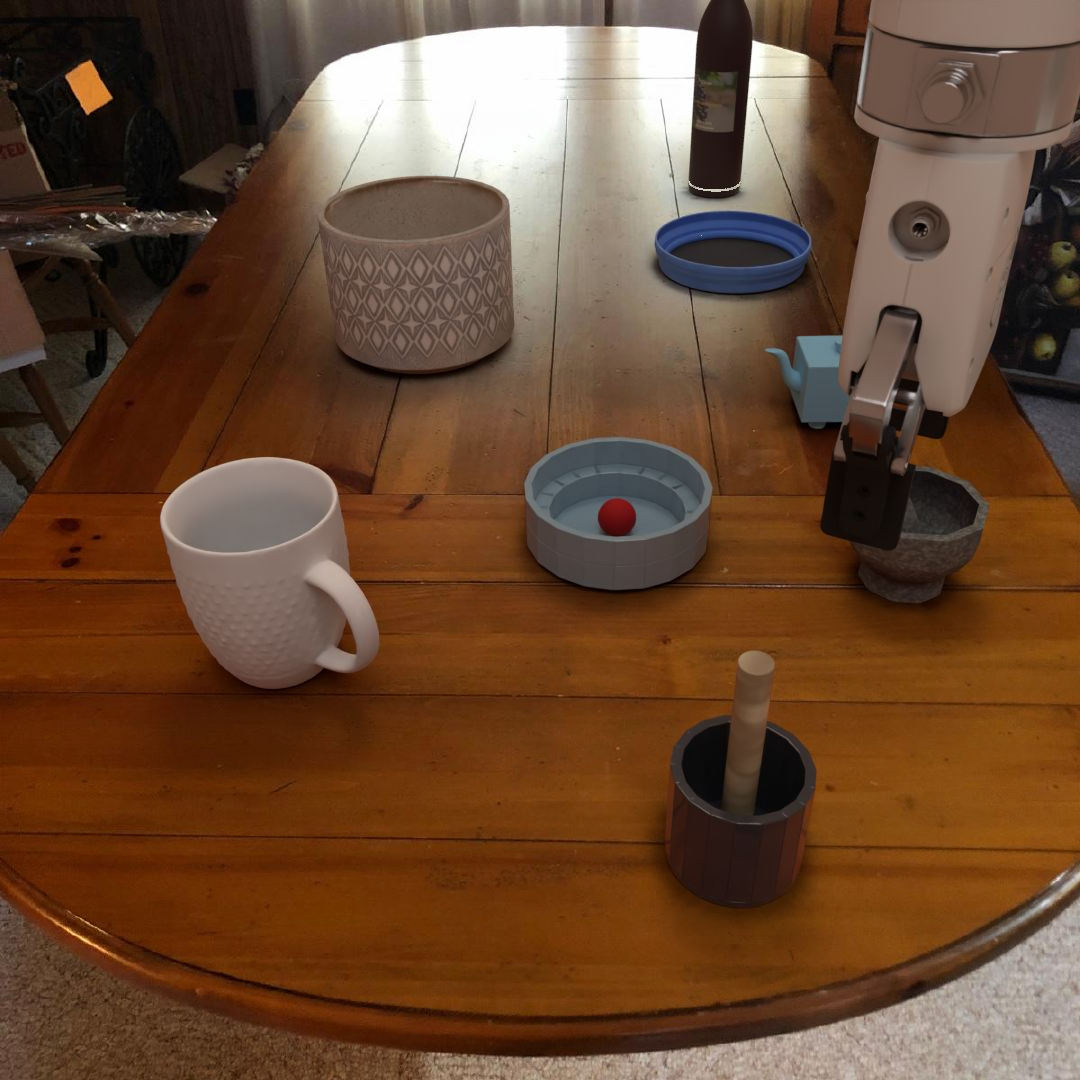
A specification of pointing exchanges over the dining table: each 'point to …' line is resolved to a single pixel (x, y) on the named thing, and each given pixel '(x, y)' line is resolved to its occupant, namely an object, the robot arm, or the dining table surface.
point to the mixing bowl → (627, 473)
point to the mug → (268, 571)
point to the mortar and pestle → (927, 539)
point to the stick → (747, 731)
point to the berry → (617, 517)
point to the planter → (419, 272)
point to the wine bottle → (720, 97)
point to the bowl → (732, 251)
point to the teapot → (815, 379)
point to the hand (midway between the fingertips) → (885, 481)
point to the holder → (737, 817)
